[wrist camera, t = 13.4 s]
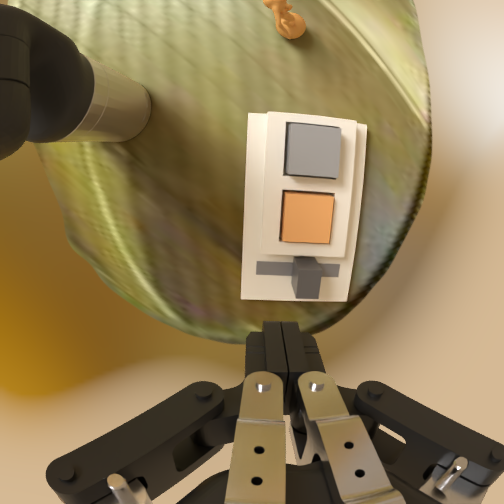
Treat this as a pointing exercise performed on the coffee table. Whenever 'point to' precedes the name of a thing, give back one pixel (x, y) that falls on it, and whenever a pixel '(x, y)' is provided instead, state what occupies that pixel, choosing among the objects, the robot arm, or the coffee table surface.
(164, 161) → the coffee table surface
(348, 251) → the control panel
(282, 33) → the figurine
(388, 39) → the coffee table surface
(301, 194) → the orange button
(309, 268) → the dark grey block
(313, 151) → the grey button
